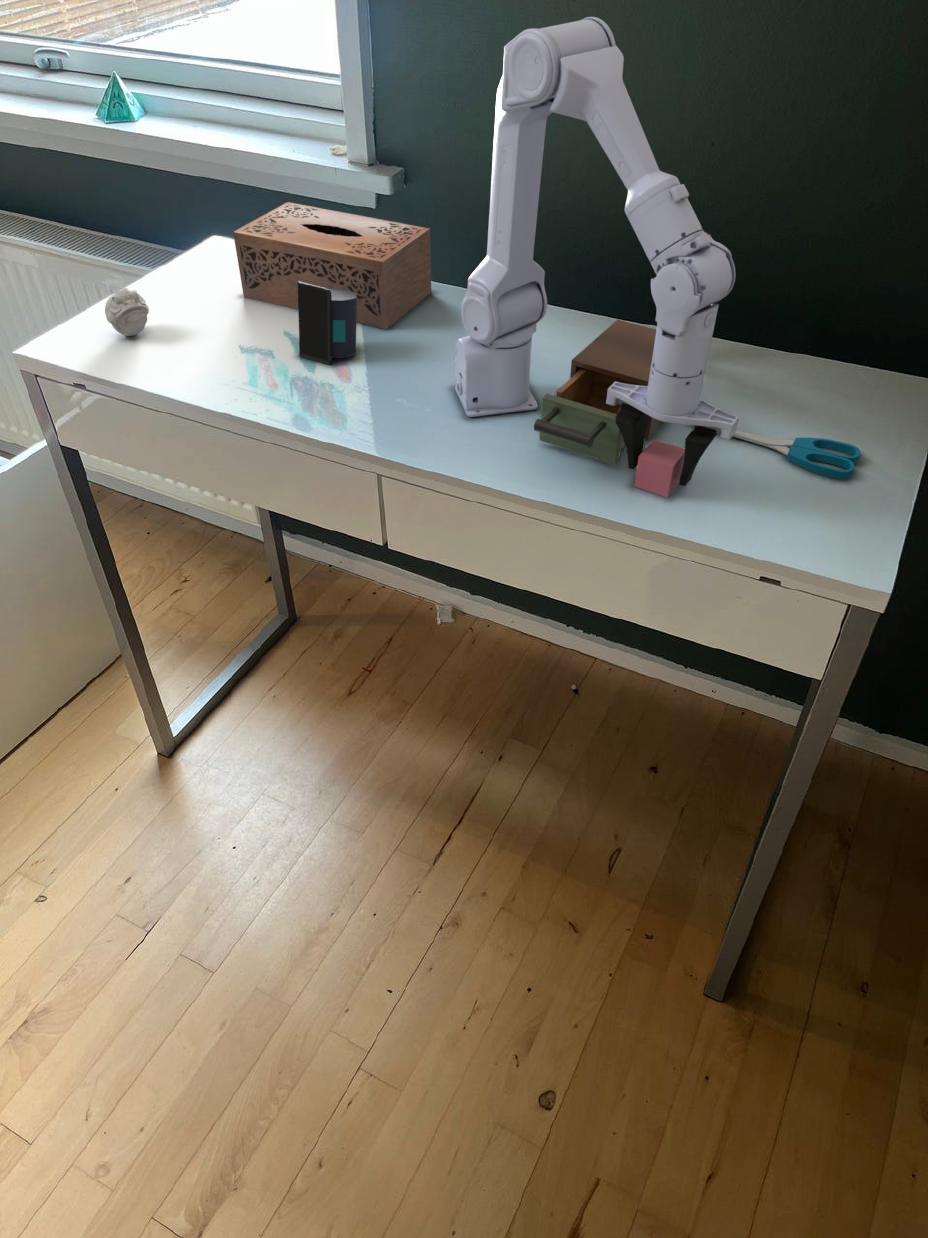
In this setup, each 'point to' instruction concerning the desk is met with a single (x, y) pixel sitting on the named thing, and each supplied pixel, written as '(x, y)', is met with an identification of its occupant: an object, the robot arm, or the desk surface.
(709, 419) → the robot arm
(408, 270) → the tissue box cover
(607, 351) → the cabinet
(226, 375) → the desk surface
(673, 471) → the block
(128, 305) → the frog figurine
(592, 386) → the drawer
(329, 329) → the speaker
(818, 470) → the scissors
